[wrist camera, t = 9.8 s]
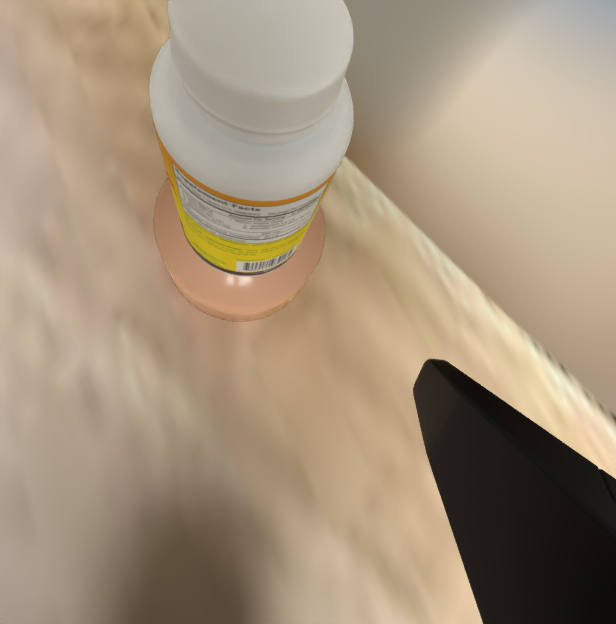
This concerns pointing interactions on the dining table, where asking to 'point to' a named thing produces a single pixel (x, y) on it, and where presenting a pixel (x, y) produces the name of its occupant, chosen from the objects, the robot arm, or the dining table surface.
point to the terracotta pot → (227, 288)
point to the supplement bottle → (252, 122)
